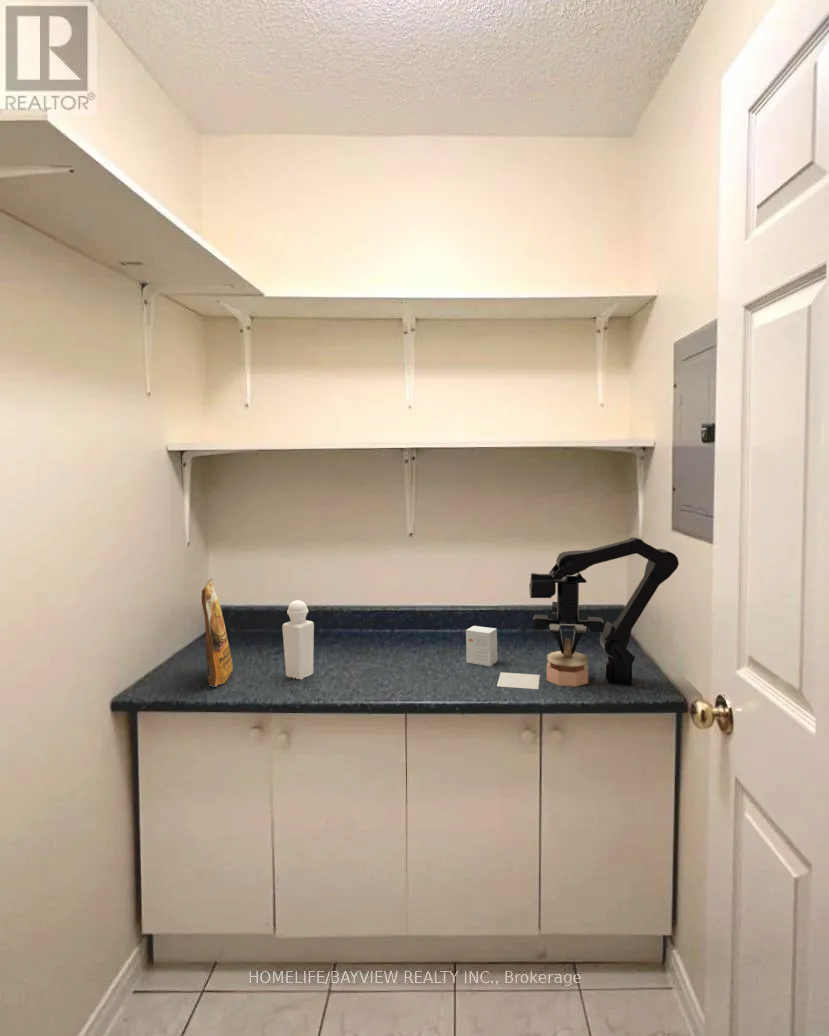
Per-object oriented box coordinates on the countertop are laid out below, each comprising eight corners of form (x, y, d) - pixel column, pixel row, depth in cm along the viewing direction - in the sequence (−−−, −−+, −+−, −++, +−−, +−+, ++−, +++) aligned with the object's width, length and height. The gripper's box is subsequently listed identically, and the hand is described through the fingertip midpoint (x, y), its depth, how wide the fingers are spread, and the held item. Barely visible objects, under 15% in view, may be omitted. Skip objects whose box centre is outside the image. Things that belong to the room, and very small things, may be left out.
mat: (539, 676, 173) (539, 674, 173) (538, 690, 163) (538, 689, 163) (500, 673, 176) (500, 672, 176) (496, 687, 165) (496, 686, 165)
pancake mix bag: (197, 691, 166) (192, 589, 163) (214, 668, 184) (209, 576, 182) (222, 690, 166) (218, 588, 164) (236, 667, 185) (233, 575, 182)
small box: (497, 662, 186) (497, 628, 185) (490, 667, 181) (490, 632, 180) (473, 658, 190) (473, 625, 189) (465, 663, 185) (465, 629, 184)
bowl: (586, 674, 174) (587, 660, 174) (588, 688, 164) (588, 674, 163) (547, 672, 177) (547, 658, 176) (546, 685, 166) (546, 671, 166)
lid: (587, 654, 174) (587, 634, 173) (588, 667, 163) (589, 646, 162) (547, 652, 176) (547, 633, 176) (546, 665, 166) (546, 644, 165)
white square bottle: (300, 680, 172) (298, 604, 170) (283, 676, 176) (280, 601, 174) (315, 673, 178) (313, 599, 176) (298, 670, 181) (296, 597, 179)
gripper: (601, 593, 174) (600, 646, 175) (534, 590, 178) (534, 643, 179) (604, 602, 163) (603, 659, 164) (532, 599, 167) (532, 655, 169)
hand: (567, 653), depth 169 cm, fingers closed on lid, 2 cm apart
